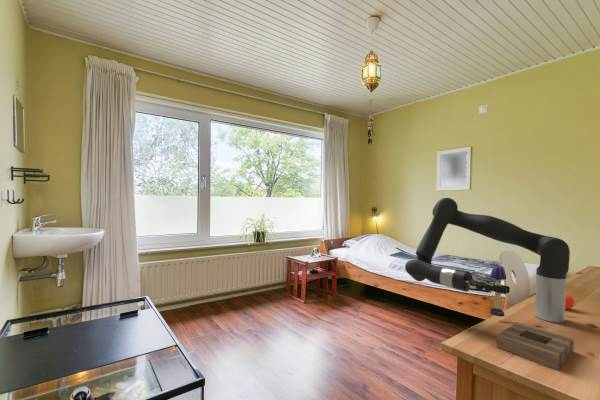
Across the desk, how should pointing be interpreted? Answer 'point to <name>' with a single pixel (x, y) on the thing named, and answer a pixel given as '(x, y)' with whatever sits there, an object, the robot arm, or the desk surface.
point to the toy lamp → (498, 275)
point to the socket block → (536, 344)
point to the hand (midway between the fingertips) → (507, 290)
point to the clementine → (568, 301)
